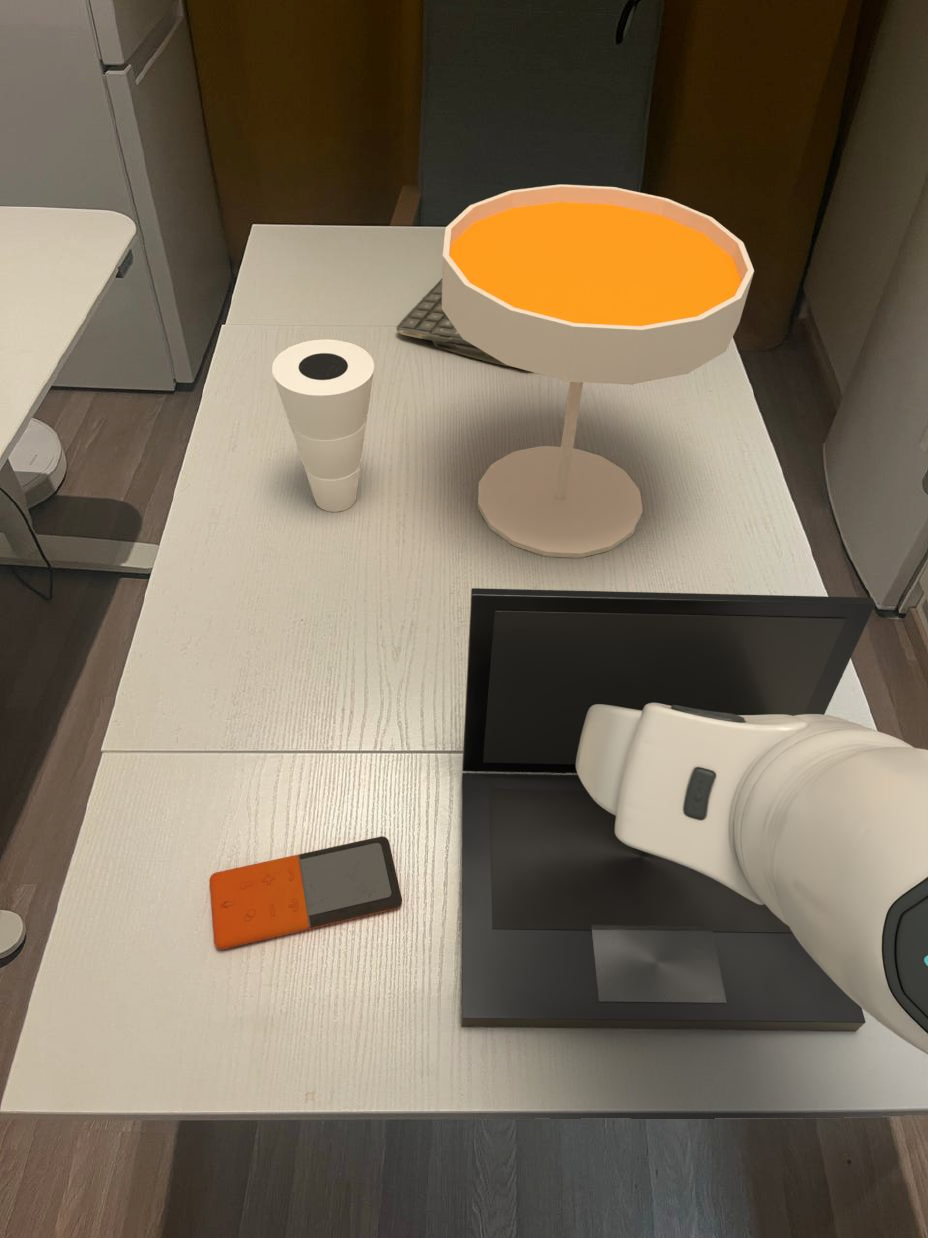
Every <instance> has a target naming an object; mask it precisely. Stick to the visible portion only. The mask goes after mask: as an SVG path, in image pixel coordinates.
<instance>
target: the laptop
mask: <svg viewBox="0 0 928 1238" xmlns="http://www.w3.org/2000/svg"><path fill="white" fill-rule="evenodd" d="M395 328H396V332H398V333H399V334H400V335H403V336H408V337H412V338H416V339H423V340H429V341H432V345H433V346H434V347H436V348H439V349H441V350H445V351H448V352H452V353H455V354H458V355H462V356H465V357H468V358H472V359H475V360H481V361H483V362H487V363H491V364H496V365H501V366H503V367H504V366H505V367H510V368H513V367H512V366H509V365H506V364H504V363H502V362H501V361H499V360H497V359H496V358H494V357H492V356H491V355H489V354H487V353H486V352H484V351H482V350H481V349H479V348H477V347H476V346H474V345H472V344H471V343H469V342H467V341H466V340H464V339H462V337H461V336H460V334H459V333H458V331H457V330H456V328H455V327H454V326H453V324H452V323H451V321H450V320H449V318H448V317H447V315H446V314H445V313H444V311H443V310H442V278H441V279H440V280H439V281H438V282H437V283H436V284H435V285H434V286H433V287H432V288H431V290H429V291H428V292H427V293H426V295H424V296H423V297H422V299H421V300H419V302H418V303H417V304H416V305H415V306H414V307H413V308H411V310H410V311H409V312H408V313H407V314H406V315H405V316H404V318H402V319H401V320H400V322H399V323H397V325H396V327H395ZM514 368H515V369H517V368H516V367H514Z"/></svg>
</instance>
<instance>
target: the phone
mask: <svg viewBox="0 0 928 1238" xmlns="http://www.w3.org/2000/svg"><path fill="white" fill-rule="evenodd" d="M208 882H209V892H210V895H209V896H210V904H211V905H210V907H211V919H212V920H211V921H212V931H213V943H214V947H216V949H218V950H226V949H230V948H235V947H239V946H243V945H248V944H252V943H257V942H261V941H264V940H269V939H273V938H278V937H282V936H286V935H291V934H295V933H298V932H303V931H308V930H311V929H316V928H321V927H324V926H328V925H334V924H336V923H341V922H345V921H350V920H353V919H358V918H362V917H363V918H364V917H367V916H371V915H375V914H376V915H377V914H380V913H383V912H387V911H392V910H396V909H399V908H400V907H401V906H402V904H403V896H402V893H401V889H400V883H399V879H398V875H397V870H396V867H395V861H394V858H393V852H392V849H391V844H390V841H389V839H388V837H386V836H383V835H382V836H381V835H380V836H376V837H373V838H367V839H362V840H358V841H353V842H350V843H343V844H340V845H336V846H335V845H334V846H331V847H330V846H329V847H327V848H322V849H316V850H312V851H308V852H304V853H298V854H294V855H289V856H286V857H280V858H276V859H272V860H267V861H262V862H257V863H253V864H249V865H244V866H239V867H235V868H230V869H225V870H221V871H215V872H214V873H212V874H211V875H210V877H209V879H208Z"/></svg>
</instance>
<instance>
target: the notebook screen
mask: <svg viewBox="0 0 928 1238" xmlns="http://www.w3.org/2000/svg"><path fill="white" fill-rule="evenodd" d="M876 605H877V604H876V602H875V600H874V598H873V597H865V596H863V597H862V596H825V595H824V596H821V595H784V594H783V595H781V594H780V595H777V594H741V593H739V594H738V593H737V594H736V593H735V594H733V593H698V592H697V593H695V592H693V593H690V592H655V591H654V592H652V591H651V592H650V591H648V592H647V591H611V590H606V591H605V590H570V589H569V590H567V589H566V590H565V589H563V590H562V589H528V588H527V589H526V588H525V589H524V588H523V589H521V588H484V587H483V588H481V587H480V588H479V587H477V588H476V587H472V588H471V589H470V607H469V608H470V609H469V625H468V626H469V627H468V628H469V629H468V645H467V666H466V685H465V704H464V722H463V723H464V724H463V742H462V762H461V768H462V769H461V771H462V772H472V773H527V774H577V771H576V758H577V752H578V747H579V742H580V738H581V733H582V730H583V726H584V722H585V719H586V715H587V712H588V710H589V708H590V707H591V706H593V705H596V704H603V705H611V706H617V707H623V708H629V709H635V710H641V711H643V708H644V706H645V705H646V704H649V703H660V704H664V705H669V706H672V705H678V706H683V707H688V708H693V709H699V710H705V711H713V712H722V713H731V714H735V715H769V714H784V715H791V716H795V715H803V714H821V715H826V712H827V710H828V707H829V706H830V704H831V702H832V699H833V697H834V695H835V693H836V691H837V689H838V686H839V684H840V682H841V680H842V677H843V676H844V673H845V671H846V670H847V667H848V664H849V663H850V661H851V658H852V657H853V655H854V652H855V650H856V648H857V645H858V644H859V641H860V639H861V637H862V636H863V633H864V631H865V628H866V626H867V623H868V622H869V620H870V618H871V616H872V613H873V612H874V609H875V607H876Z"/></svg>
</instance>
